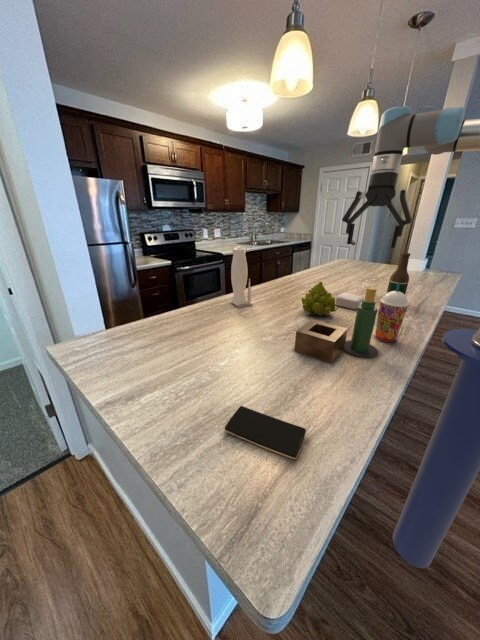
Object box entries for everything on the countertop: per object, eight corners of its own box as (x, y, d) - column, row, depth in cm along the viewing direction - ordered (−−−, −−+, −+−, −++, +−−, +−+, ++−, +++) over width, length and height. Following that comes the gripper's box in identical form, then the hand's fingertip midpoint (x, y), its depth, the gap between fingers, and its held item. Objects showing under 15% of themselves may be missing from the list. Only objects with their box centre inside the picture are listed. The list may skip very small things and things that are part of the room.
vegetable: (317, 295, 124) (327, 274, 112) (335, 321, 116) (348, 301, 104) (290, 304, 121) (297, 282, 108) (306, 331, 113) (316, 311, 101)
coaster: (381, 348, 85) (381, 347, 85) (372, 362, 77) (373, 361, 77) (347, 338, 92) (347, 337, 92) (336, 350, 84) (336, 349, 84)
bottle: (370, 347, 85) (383, 288, 77) (365, 354, 81) (379, 292, 73) (352, 342, 88) (364, 285, 80) (347, 348, 84) (359, 288, 76)
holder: (344, 347, 85) (348, 328, 83) (331, 363, 77) (334, 342, 74) (309, 337, 92) (312, 319, 89) (294, 350, 83) (296, 330, 81)
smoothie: (367, 337, 93) (379, 282, 85) (379, 331, 97) (392, 278, 90) (391, 346, 87) (406, 288, 79) (403, 339, 91) (418, 283, 83)
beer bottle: (406, 305, 125) (420, 254, 115) (392, 306, 123) (405, 254, 114) (394, 300, 132) (406, 251, 122) (380, 301, 130) (392, 251, 121)
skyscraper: (236, 308, 119) (236, 244, 108) (227, 303, 125) (227, 242, 114) (251, 305, 123) (253, 243, 112) (242, 300, 129) (243, 241, 118)
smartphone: (239, 404, 58) (307, 428, 52) (239, 408, 59) (306, 433, 52) (223, 427, 52) (296, 457, 46) (223, 431, 52) (296, 462, 46)
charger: (368, 313, 114) (335, 305, 123) (375, 308, 120) (343, 301, 130) (370, 303, 112) (336, 296, 121) (377, 298, 118) (344, 291, 128)
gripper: (338, 174, 83) (329, 243, 91) (433, 167, 69) (412, 250, 77) (346, 176, 88) (336, 241, 97) (435, 171, 74) (415, 247, 83)
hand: (370, 245), depth 87 cm, fingers open, 13 cm apart
